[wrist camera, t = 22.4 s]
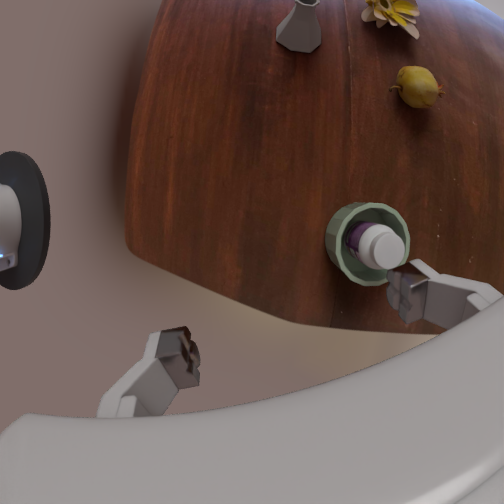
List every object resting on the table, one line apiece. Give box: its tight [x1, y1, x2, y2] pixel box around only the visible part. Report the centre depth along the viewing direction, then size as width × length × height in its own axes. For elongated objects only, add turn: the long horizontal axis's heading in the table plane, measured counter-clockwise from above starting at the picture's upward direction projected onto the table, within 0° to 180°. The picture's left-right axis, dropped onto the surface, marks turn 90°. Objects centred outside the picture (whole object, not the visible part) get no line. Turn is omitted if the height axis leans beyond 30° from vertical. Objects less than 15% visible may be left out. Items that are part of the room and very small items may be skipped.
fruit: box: [389, 66, 445, 108], centre depth 30 cm, size 7×7×10 cm
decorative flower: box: [361, 0, 420, 39], centre depth 25 cm, size 15×11×10 cm
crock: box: [325, 203, 410, 286], centre depth 34 cm, size 10×10×6 cm
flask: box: [276, 0, 321, 53], centre depth 27 cm, size 7×7×10 cm
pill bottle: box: [344, 221, 405, 270], centre depth 32 cm, size 5×5×10 cm
